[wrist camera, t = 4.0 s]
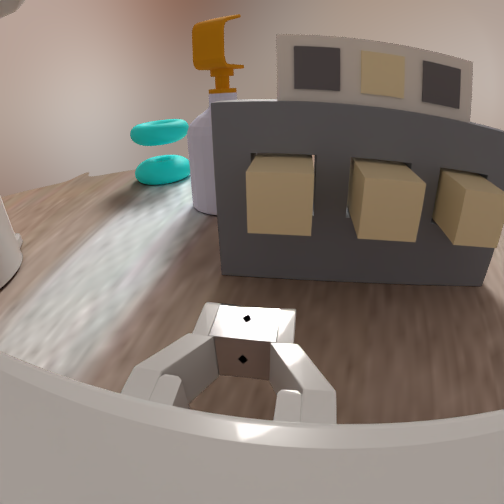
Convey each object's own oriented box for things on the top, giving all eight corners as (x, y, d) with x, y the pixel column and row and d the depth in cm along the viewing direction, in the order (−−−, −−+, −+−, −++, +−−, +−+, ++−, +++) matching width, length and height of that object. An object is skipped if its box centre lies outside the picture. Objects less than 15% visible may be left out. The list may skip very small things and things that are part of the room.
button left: (247, 233, 21) (245, 172, 19) (260, 195, 27) (260, 148, 25) (310, 236, 20) (314, 174, 18) (309, 197, 26) (311, 150, 24)
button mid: (357, 238, 20) (364, 177, 18) (345, 199, 26) (348, 152, 24) (415, 242, 19) (426, 183, 17) (391, 203, 25) (396, 157, 23)
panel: (221, 274, 28) (208, 35, 18) (228, 256, 30) (218, 40, 21) (481, 286, 24) (522, 77, 15) (469, 269, 27) (503, 75, 18)
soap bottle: (274, 197, 44) (271, 15, 32) (239, 222, 37) (232, 1, 25) (218, 189, 48) (211, 24, 35) (179, 210, 41) (165, 17, 29)
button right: (453, 245, 19) (466, 189, 17) (422, 206, 25) (429, 161, 23) (496, 248, 18) (510, 196, 16) (460, 210, 24) (468, 167, 22)
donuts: (133, 123, 53) (187, 116, 55) (139, 174, 58) (190, 167, 60) (125, 130, 44) (189, 121, 46) (133, 190, 49) (194, 182, 51)
